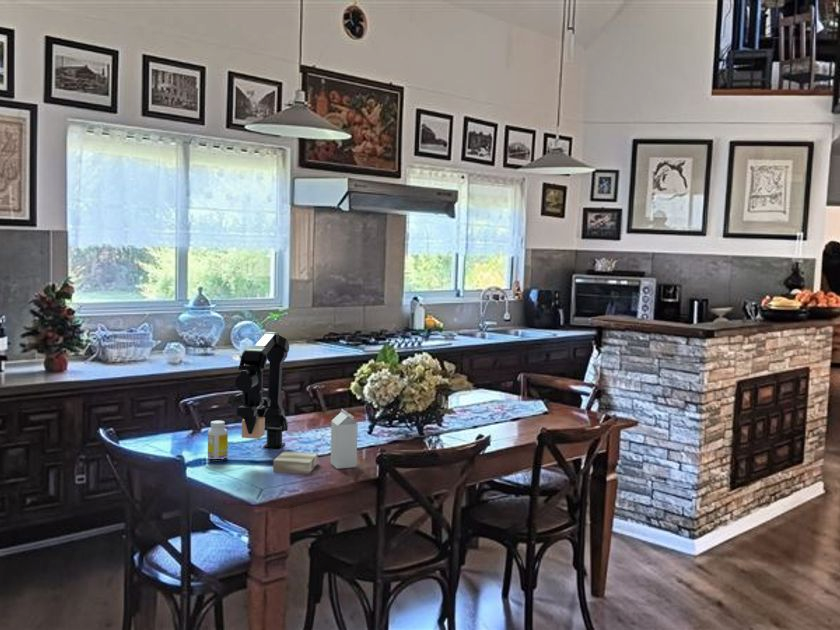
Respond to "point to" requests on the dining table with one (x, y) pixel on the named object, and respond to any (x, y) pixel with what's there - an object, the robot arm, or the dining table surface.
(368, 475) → the dining table surface
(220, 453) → the supplement bottle
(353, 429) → the milk carton
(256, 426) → the tan cube
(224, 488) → the dining table surface
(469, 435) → the dining table surface
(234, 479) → the dining table surface
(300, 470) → the birch block
